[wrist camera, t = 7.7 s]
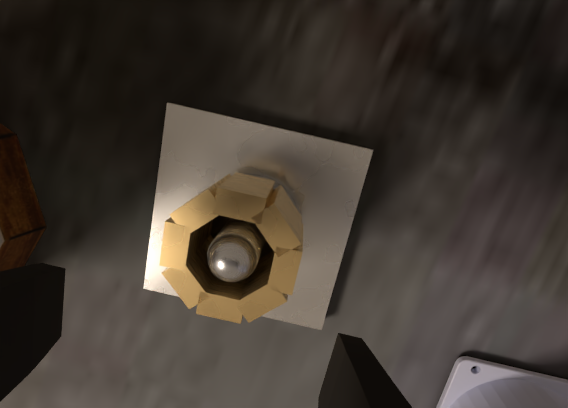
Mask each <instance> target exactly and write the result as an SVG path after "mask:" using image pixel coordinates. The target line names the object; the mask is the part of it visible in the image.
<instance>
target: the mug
mask: <svg viewBox="0 0 568 408" xmlns="http://www.w3.org/2000/svg"><path fill="white" fill-rule="evenodd" d="M45 229H46V224H45V221H44V217H43V214H42V211H41V208H40V205H39V202H38V199H37V196H36V193H35V190H34V187H33V184H32V181H31V177H30V174H29V171H28V168H27V165H26V162H25V159H24V156H23V153H22V150H21V147H20V144H19V141H18V137H17V135H16V134H15V133H13V132H12V131H11V130H9V129H8V128H6V127H5V126H3V125H2V124H1V123H0V271H4V270H8V269H13V268H18V267H23V266H24V265H25V264H26V262H27V260H28V258H29V257H30V255H31V253H32V251H33V250H34V248H35V246H36V244H37V243H38V241H39V239H40V238H41V236H42V234H43V232H44V231H45Z"/></svg>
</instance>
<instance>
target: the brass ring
mask: <svg viewBox="0 0 568 408" xmlns="http://www.w3.org/2000/svg"><path fill="white" fill-rule="evenodd" d="M274 184H275V181H274V180H270V179H265V178H261V177H256V176H252V175H247V174H243V173H238V172H236V173H235V174H234V175H232V176H231V175H230V173H229V174H228V175H226V176H225V177H223V178H222V179H220V180H219V181H217V182H216V183H214V184H213V185H211V186H210V187H208V188H207V189H205V190H204V191H202V192H201V193H199V194H198V195H196V196H195V197H193V198H192V199H190V200H189V201H188V202H186V203H185V204H183V205H182V206H181V207H179V208H178V209H176V210H175V211H173V212H172V213H171V214H169V215H170V216H171V217H170V218H169V219H168V220H166V221H165V224H164V232H163V240H162V247H161V255H160V263H159V265H160V266H164V267H167V268H166V269H165V270H164V271H163V272H162V275H163V276H164V277H165V278H166V280H167V281H168V282H169V284H170V285H171V286H172V288H173V289H174V290H175V291H176V293H177V294H178V295H179V297H180V298H181V299H182V301H183V302H184V303H185V304H186V306H187V307H188V308H189V309H190V308H192V307H194V306H195V305H197V304H198V306H197V312H196V314H200V315H204V316H209V317H213V318H218V319H222V320H227V321H231V322H235V323H240V324H241V321H242V318H243V316H244V317H245V318H246V320H247V321H248V322H251V321H253V320H255V319H256V318H258V317H260V316H262V315H264V314H265V313H267V312H269V311H271V310H273V309H275V308H276V307H278V306H280V305H282V304H284V303H286V302H287V299H288V295H292V294H293V290H294V286H295V281H296V277H297V273H298V269H299V265H300V261H301V257H302V253H303V223H302V216H301V214H300V213H299V211H298V210H297V208H296V207H295V205H294V204H293V202H292V201H291V199H290V198H289V196H288V195H287V193H286V192H285V190H284V188H283V187H282V185H280V186H278V187H277V188H275V189H274ZM273 189H274V190H273ZM219 215H221V216H225V217H229V218H234V219H238V220H243V221H247V222H252V223H255V224H256V226H257V227H258V229H259V230H260V232H261V233H262V234H263V236H264V237H265V239H266V240H267V242H268V243H269V245H270V246H271V248H272V249H273V250H274V251H272V252H270V253H269V254H267V255H265V256H264V257H262V258H260V259H259V260H258V263H257V266H256V268H255V270H254V272H253V273H252V274H251V275H250V276H248V277H247V278H245V279H243V280H241V281H238V282H226V281H223V280H220V279H219V278H217V277H216V276H215V275H214V274H213V273H212V271H211V270H210V268H209V265H208V258H207V252H208V248H209V246H210V244H211V242H212V241H213V240H214V239H213V237H212V236H211V229H212V223H213V219H214V218H215V217H217V216H219Z"/></svg>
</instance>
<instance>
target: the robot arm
mask: <svg viewBox="0 0 568 408" xmlns="http://www.w3.org/2000/svg"><path fill="white" fill-rule="evenodd" d="M64 283H65V268H61V267H57V266H52V265H48V264H44V263H40V264H34V265H28V266H23V267H18V268H13V269H8V270H4V271H0V401H1V400H2V399H4V398H5V397H6V396H7V395H8V394H9V393H10V392H11V391H12V390H13V389H14V388H15V387H16V386H17V385H18V384H19V383H20V382H21V381H22V380H23V379H24V378H25V377H26V376H27V375H28V374H29V373H31V371H32V370H33V369H34V368H35V367H36V366H37V365H38V363H39V362H40V361H41V360H42V359H43V358H44V357H45V355H46V354H47V353H48V352H49V350H50V349H51V348H52V347H53V346H54V344H55V343H56V342H57V341H58V339H59V338H60V337H61V331H62V315H63V299H64ZM474 366H476V368H474V369H471V368H472V367H474ZM318 408H412V407H411V405H410V404H409V403H408V401H407V400H406V399H405V397H404V396H403V395H402V393H401V392H400V391H399V389H398V388H397V387H396V385H395V384H394V383H393V381H392V380H391V378H390V377H389V376H388V374H387V373H386V371H385V370H384V369H383V367H382V366H381V364H380V363H379V362H378V360H377V359H376V357H375V356H374V355H373V353H372V352H371V350H370V349H369V348H368V346H367V345H366V343H365V342H364V341H363V340H362V338H358V337H353V336H349V335H345V334H341V333H338V336H337V339H336V342H335V345H334V349H333V352H332V355H331V359H330V362H329V365H328V368H327V372H326V375H325V378H324V381H323V385H322V388H321V391H320V394H319V402H318ZM436 408H568V380H567V379H562V378H558V377H554V376H550V375H545V374H541V373H537V372H532V371H528V370H524V369H520V368H515V367H511V366H507V365H502V364H498V363H494V362H490V361H485V360H481V359H477V358H473V357H468V356H462V357H459V358H458V359H457V360H456V362H455V364H454V366H453V369H452V371H451V374H450V376H449V378H448V381H447V383H446V386H445V388H444V390H443V393H442V395H441V397H440V400H439V402H438V405H437V407H436Z"/></svg>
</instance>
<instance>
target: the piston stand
mask: <svg viewBox="0 0 568 408" xmlns="http://www.w3.org/2000/svg"><path fill="white" fill-rule="evenodd" d="M372 153H373V150H372V149H370V148H366V147H362V146H358V145H353V144H349V143H345V142H340V141H336V140H332V139H327V138H323V137H319V136H314V135H310V134H306V133H301V132H297V131H292V130H288V129H284V128H279V127H275V126H271V125H266V124H262V123H258V122H253V121H249V120H245V119H240V118H236V117H232V116H227V115H223V114H219V113H214V112H210V111H206V110H201V109H197V108H193V107H188V106H184V105H180V104H175V103H167V107H166V115H165V123H164V131H163V139H162V147H161V155H160V162H159V170H158V178H157V186H156V194H155V202H154V210H153V218H152V225H151V233H150V241H149V249H148V257H147V265H146V273H145V280H144V289H148V290H152V291H156V292H161V293H165V294H169V295H173V296H178V297H179V295H178V294H177V293H176V291H175V290H174V289H173V288H172V286H171V285H170V284H169V282H168V281H167V280H166V278H165V277H164V276H163V275H162V272H163V271H164V270H165V269H166V268H167V267H164V266H160V265H159V263H160V255H161V247H162V240H163V232H164V224H165V221H166V220H168V219H169V218H170V217H171V216H170V215H169V214H171V213H172V212H173V211H175V210H176V209H178V208H179V207H181V206H182V205H183V204H185V203H186V202H188V201H189V200H190V199H192V198H193V197H195V196H196V195H198V194H199V193H201V192H202V191H204V190H205V189H207V188H208V187H210V186H211V185H213V184H214V183H216V182H217V181H219V180H220V179H222V178H223V177H225V176H226V175H228V174H229V173H230V175H231V176H232V175H234V174H235V173H236V172H238V173H243V174H247V175H252V176H256V177H261V178H265V179H270V180H274V181H275V184H274V189H275V188H277V187H278V186H280V185H282V187H283V188H284V190H285V192H286V193H287V195H288V196H289V198H290V199H291V201H292V202H293V204H294V205H295V207H296V208H297V210H298V211H299V213H300V214H301V216H302V223H303V253H302V257H301V261H300V265H299V269H298V273H297V277H296V281H295V286H294V290H293V294H292V295H288V299H287V302H286V303H284V304H282V305H280V306H278V307H276V308H275V309H273V310H271V311H269V312H267V313H265V314H264V315H262V316H263V317H268V318H272V319H276V320H280V321H285V322H289V323H293V324H298V325H302V326H306V327H310V328H315V329H319V330H322V326H323V323H324V319H325V316H326V312H327V309H328V305H329V302H330V299H331V295H332V292H333V288H334V285H335V281H336V278H337V274H338V271H339V267H340V264H341V260H342V257H343V254H344V250H345V247H346V243H347V240H348V236H349V233H350V229H351V226H352V222H353V219H354V215H355V212H356V208H357V205H358V202H359V198H360V195H361V191H362V188H363V184H364V181H365V177H366V174H367V170H368V167H369V163H370V160H371V156H372ZM274 189H273V190H274ZM211 236H212V237H213V239H214V240H213V241H212V242H211V244H210V246H209V248H208V252H207V258H208V265H209V268H210V270H211V271H212V273H213V274H214V275H215V276H216V277H217V278H219V279H220V280H223V281H226V282H238V281H241V280H243V279H245V278H247V277H248V276H250V275H251V274H252V273H253V272H254V270H255V268H256V266H257V263H258V260H259V259H260V258H262V257H264V256H265V255H267V254H269V253H270V252H272V251H274V250H273V249H272V248H271V246H270V245H269V243H268V242H267V240H266V239H265V237H264V236H263V234H262V233H261V232H260V230H259V229H258V227H257V226H256V224H255V223H252V222H247V221H243V220H238V219H234V218H229V217H225V216H221V215H219V216H217V217H215V218H214V219H213V223H212V229H211Z"/></svg>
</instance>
